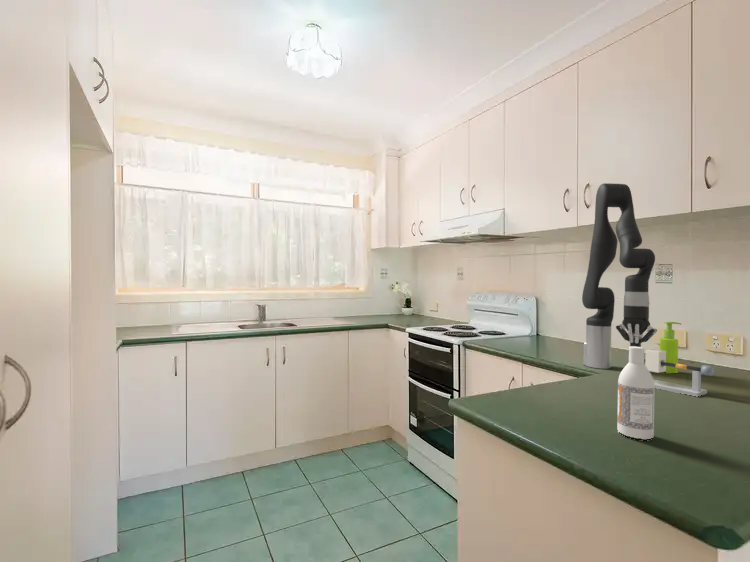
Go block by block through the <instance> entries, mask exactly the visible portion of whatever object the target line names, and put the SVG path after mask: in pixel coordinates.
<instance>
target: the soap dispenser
mask: <svg viewBox="0 0 750 562" xmlns="http://www.w3.org/2000/svg"><path fill="white" fill-rule="evenodd" d="M664 324H666V329H664V330H663V337H661V338H659V350H662V351H666V362H667V363H674V364H676V363H677V364H679V339H676V338H675V330H674V329H673V325H682V323H681V322H675V321H664ZM678 369H679V368H676V367H670V366H666V371H664V372H666V373H665V374H671V373H677V374H678V373H679V370H678ZM664 372H663V373H664Z"/></svg>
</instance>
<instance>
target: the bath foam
mask: <svg viewBox="0 0 750 562" xmlns="http://www.w3.org/2000/svg"><path fill="white" fill-rule="evenodd" d="M628 351H629V352H628V363H626V365H625V366H624V367H623V369H622V370H621V372H620V373H619V375H618V380H617V414H616V415H617V418H616V419H617V425H616V426H617V427H616V429H617V430H618V431H617V433H619V432H620V433H622V434H624V435H626V436H630V437H634V438H641V439H651V438H653V439H654V436H655V390H656V389H655V386H654V380H655V379H654V377H653V375H652V372H651V371H649V370H648V369H647V367H646V366H645V362H644V359H645V348H644V347H642V346H641V347H636V346H630V345H629V347H628ZM651 440H652V439H651Z"/></svg>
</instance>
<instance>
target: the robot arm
mask: <svg viewBox="0 0 750 562" xmlns="http://www.w3.org/2000/svg"><path fill="white" fill-rule="evenodd" d="M594 204H595V209H594V223H593V233H592V238H591V243H590V250H589V251H590V252H589V260H588V267H587V272H586V279H585V281H584V285H583V290H582V294H581V295H582V298H581V301H582V305H583V308H585V309H589V310H596V311H597V312H596V313H595V314H594V315H592V316H588V317H587V318H586V321H585V322H586V325H585V327H586V328H585V331H586V332H585V334H586V335H585V342H584V343H583V361H582V362H583V363H582V364H583V366H586V367H589V368H594V369H604V370H605V369H611V367H612V365H611V364H612V322H613V319H614V312H615V293H614V291H613V289H612V288H610V287H607V286H606V287H603V286H599V285H600V281H601V278H602V277H603V275H604V273H605V272H606V271H607V269H609V267H610V265H611V264H612V263H613V261H614V260H615V258H616V255H617V248H618V243H619V263H620V265H621V266H622V267H623V268H625V269H639V270H638V271H637V273H635V274H629V275H627V276H625V280H624V297H623V320H622V323H620V324H618V325H616V326H615V329H616V330H617V331H618V333H619V334H620V335H621V337H622V338H623V339H624V341H627V342H629V343H630V345H629V347H630V346H636V347H642V343H647V342H648V341H649V340H650V339H651V338H652V337H653V336H654V335H655V334H656V333H657V332H658V329H656V328H654V327H653V326H652V325H651V323H650V319H649V318H650V295H649V281H650V277H651V273H652V271H653V268H654V266H655V265H654V264H655V261H656V255H655V253H654V251H653V250H652V249H650V248H639V246H641V244H642V243H643V237H642V235H641V233H640V230H639V227H638V225H637V220H636V216H635V208H634V203H633V195H632V190H631V188H630V187H629V186H628V184H625V183H605V182H604V183H601V184H600V185H599V186H598V188H597V191H596V195H595V203H594ZM609 208H618V209H620V211H621V214H620V217H619V219H618V220H617V222H616V225H615V231H614V230H613V227H612V225H611V222H610V220H609V217H608V216H609V214H608V213H609V212H608V211H609V210H608V209H609ZM645 332H646V333H645ZM644 333H645V334H644Z"/></svg>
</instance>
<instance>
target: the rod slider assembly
mask: <svg viewBox="0 0 750 562" xmlns="http://www.w3.org/2000/svg"><path fill="white" fill-rule="evenodd" d="M644 363H645V358H644ZM661 365H663V366H670V367H676V368H678V369H680V370H685V371H686V370H688V371H689V370H690V371H691V376H692V377H691V379H692V380H691V386H690V385H683V384H679V383H678V384H677V383H673V382H667V381H663V380H657V379H653V380H654V386H655V388H656V389H655V390H660V389H661V390H662V391H665V390H666V392H670V393H676V394H680V393H681V394H680V395H684V394H687V395H686V396H689V395H692V396H691V397H694V396H696V397H695V398H699V397H702V396H704V395H707V394H708V389H705V388H702V387H701V386H702V376H703V375H704V376H709V377H713V376H714V374H715V368H714V366H712V365H704V364H702V365H701V366H700V367H699V366H693V365H688V364H682V363H678V364H677V363H676V364H674V363H667V362H661ZM661 390H660V391H661ZM701 395H702V396H701ZM698 396H699V397H698Z"/></svg>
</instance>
